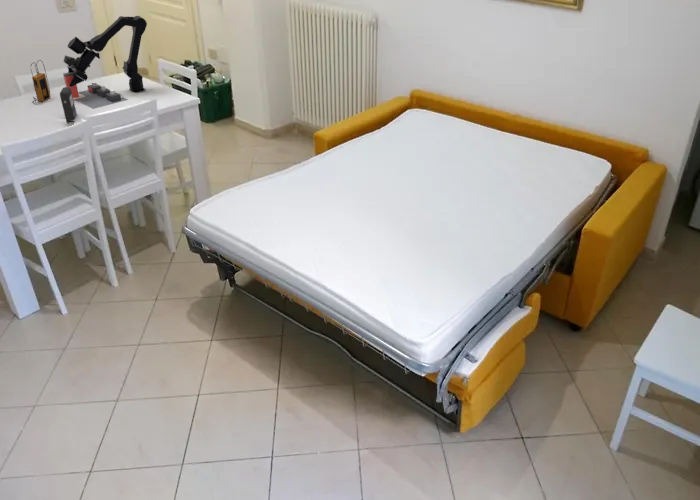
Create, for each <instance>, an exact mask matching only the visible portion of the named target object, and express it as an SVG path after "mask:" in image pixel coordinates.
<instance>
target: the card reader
mask: <svg viewBox="0 0 700 500" xmlns="http://www.w3.org/2000/svg"><path fill="white" fill-rule="evenodd" d="M59 97H60V102H61V104H62V105H61V106H62V109H63V114H64V118H65V121H66V122H67V123H70V124H71V123H74V122H75V121H74V120H76V117H77V116H78V114H77V110H76V109H77V108H76V105H75V100H73V96H72V92H71V88H69V87H66V86H64V87H63V88H62V89H61V91H60V92H59Z"/></svg>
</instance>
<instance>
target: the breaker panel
mask: <svg viewBox="0 0 700 500" xmlns="http://www.w3.org/2000/svg"><path fill="white" fill-rule="evenodd" d="M78 94H79V97H76V98H73V100H74V101H76V102H78V103H81V104H82V105H84V106H86V107H89V108H91V109H92V110H93V109H98V108H102V107H105V106H110V105H115V104H117V103H120V102H121V103H122V102H124V101H129V99H127V98H125V97H124V96H123V95H121V94H120V93H118V92H116V90H114V89H108V88H107V87H106V86H105V85H100V84H98V83H97V82H96V81H91V84H90V85H89V84H88V85H87V90H83V91H78Z"/></svg>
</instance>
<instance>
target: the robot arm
mask: <svg viewBox="0 0 700 500" xmlns="http://www.w3.org/2000/svg"><path fill="white" fill-rule="evenodd" d="M126 26H127V27H131V29H132V36H131V42H130V47H129V48H130V49H129V54H128V57H127V58H128V59H127V60H126V61H123V66H122V69H123V73H124V75H126V76H127V77H128V78H129V79H128V85H129V91H130V92H133V93H140V92H143V91H146V88H144V83H143V76H142V75H141V74H140V73H139V72H138V71H139V70H138V69H139V67H138V56H139V51H140V46H141V41H142V36H143V34H144V33H145V31H146V29H147V26H148V22H147V20H146V19H144V18H143V17H142V16H140V15H135V16H122V15H121V16H118V18H117V19H116V20H114V22H112V23H111V25H110V26H108V27H107V28H106V29H105V30H104V31H103V32H102V33H100V34H97V35H95V36H94V37H92V38H91V39H90V40H87V41H82V40H81V39H79V37H78V36H74V38H72V39H71V40H70V41H68V44H67V48H68V49H70V50H71V51H72V52H74V53H75V54H77V55H80V56H78V57H76V58H75V57H73V56H68V55H64V58H63V63H64V64H66V66H67V70H68V71H67V73H70V72H73V79H72V81H71V82H70V85H69V86H70V87H72V86H74V85H78V84H80V83H82V82H85V81H87V79H89V78H88V75H87V73H86V71H87V69H88V68H90V67H91V64H92V62H93V61H94V60H95V58H98V59H101V56H100V52H102V51H103V50H104V49H105V48H106V46H107V44H108V42H109V41H110V39H112V38H113V37H114V36H115V35H117V33H119V32H120V30H122V29H123V28H124V27H126Z"/></svg>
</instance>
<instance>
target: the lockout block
mask: <svg viewBox="0 0 700 500" xmlns="http://www.w3.org/2000/svg"><path fill="white" fill-rule="evenodd" d="M62 74H63V79H64V84H65V87H69V88H71V92H72V96H73V98H76V97H79V94H78V92H79V90H78V86H77V85H78V84H76V85H74V86H72V87H70V86H69V85H70V82H71V81H72V79H73V72H70V73H68V72H63V73H62Z"/></svg>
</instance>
